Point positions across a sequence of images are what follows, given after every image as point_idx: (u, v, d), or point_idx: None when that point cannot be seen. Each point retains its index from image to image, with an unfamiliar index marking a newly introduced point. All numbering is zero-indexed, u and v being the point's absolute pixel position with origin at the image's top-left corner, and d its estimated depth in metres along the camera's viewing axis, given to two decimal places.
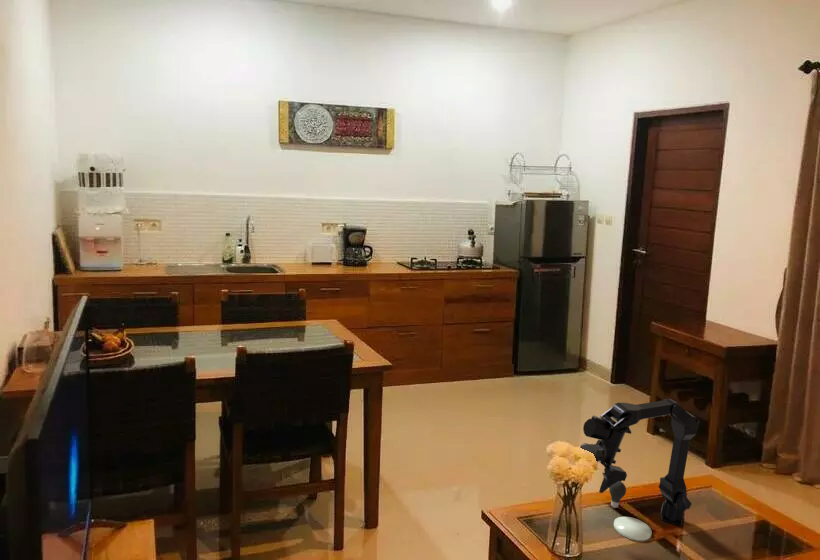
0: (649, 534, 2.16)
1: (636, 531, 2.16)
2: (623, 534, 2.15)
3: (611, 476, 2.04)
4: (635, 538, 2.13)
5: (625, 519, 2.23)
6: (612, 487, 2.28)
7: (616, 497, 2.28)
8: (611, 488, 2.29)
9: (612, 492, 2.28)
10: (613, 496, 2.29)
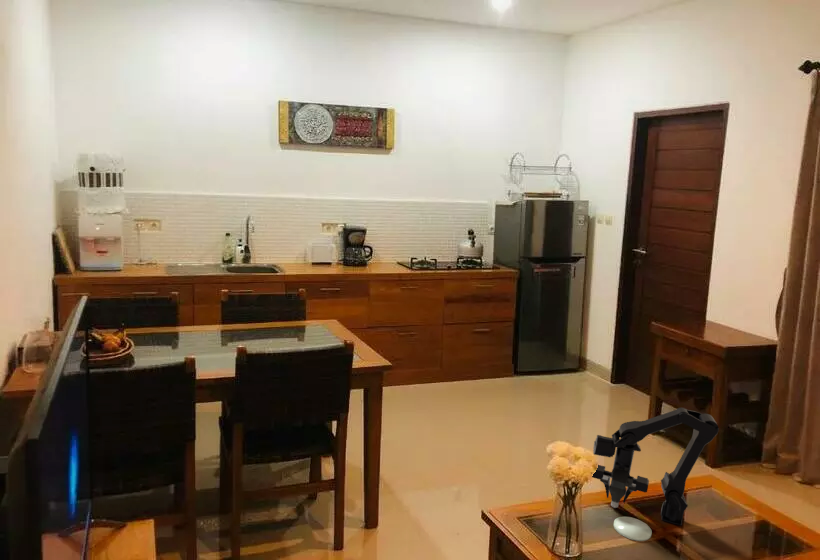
0: (649, 534, 2.16)
1: (636, 531, 2.16)
2: (623, 534, 2.15)
3: (646, 490, 2.23)
4: (635, 538, 2.13)
5: (625, 519, 2.23)
6: (612, 487, 2.28)
7: (616, 497, 2.28)
8: (611, 488, 2.29)
9: (612, 492, 2.28)
10: (613, 496, 2.29)
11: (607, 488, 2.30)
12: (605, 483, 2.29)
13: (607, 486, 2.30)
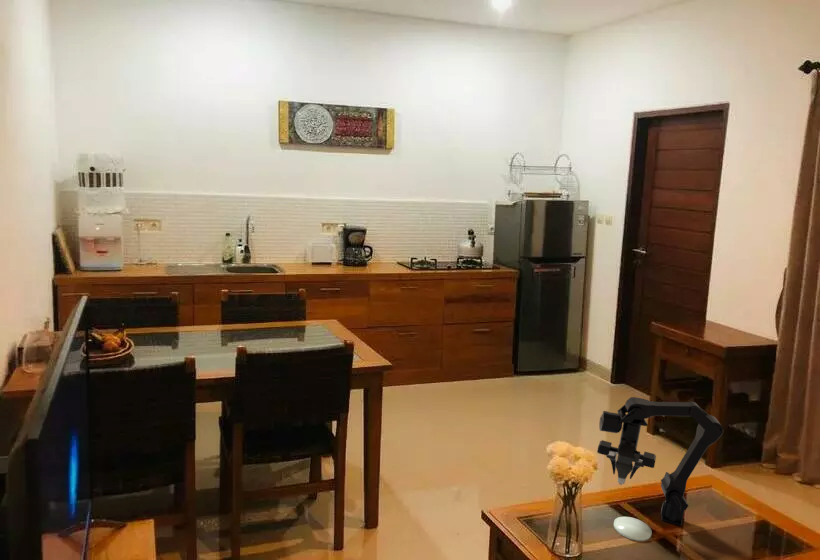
0: (649, 534, 2.16)
1: (636, 531, 2.16)
2: (623, 534, 2.15)
3: (653, 466, 2.20)
4: (635, 538, 2.13)
5: (625, 519, 2.23)
6: (619, 463, 2.25)
7: (623, 473, 2.25)
8: (617, 464, 2.26)
9: (618, 468, 2.25)
10: (619, 472, 2.26)
11: (613, 464, 2.27)
12: (611, 459, 2.26)
13: (613, 462, 2.26)
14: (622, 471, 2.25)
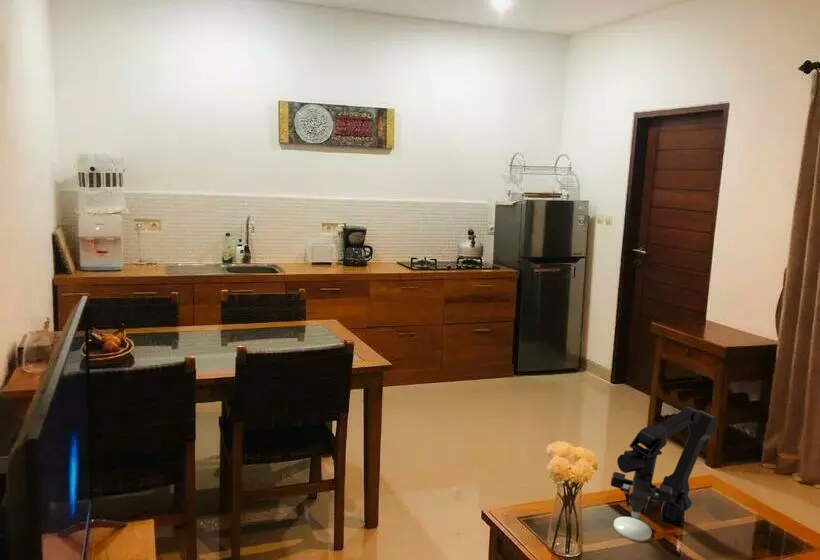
0: (649, 534, 2.16)
1: (636, 531, 2.16)
2: (623, 534, 2.15)
3: (670, 500, 2.10)
4: (635, 538, 2.13)
5: (625, 519, 2.23)
6: (633, 496, 2.15)
7: (637, 507, 2.15)
8: (632, 497, 2.15)
9: (633, 502, 2.15)
10: (634, 506, 2.15)
11: (627, 497, 2.16)
12: (625, 492, 2.15)
13: (627, 495, 2.16)
14: (637, 505, 2.14)
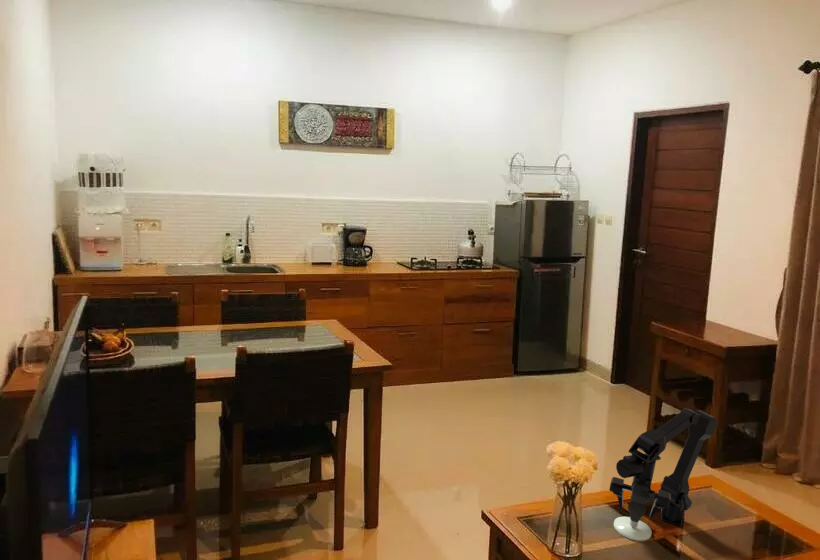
0: (649, 534, 2.16)
1: (636, 531, 2.16)
2: (623, 534, 2.15)
3: (668, 505, 2.10)
4: (635, 538, 2.13)
5: (625, 519, 2.23)
6: (632, 505, 2.16)
7: (635, 516, 2.16)
8: (630, 507, 2.16)
9: (631, 511, 2.16)
10: (632, 515, 2.16)
11: (620, 501, 2.17)
12: (618, 496, 2.16)
13: (620, 499, 2.17)
14: (635, 514, 2.15)
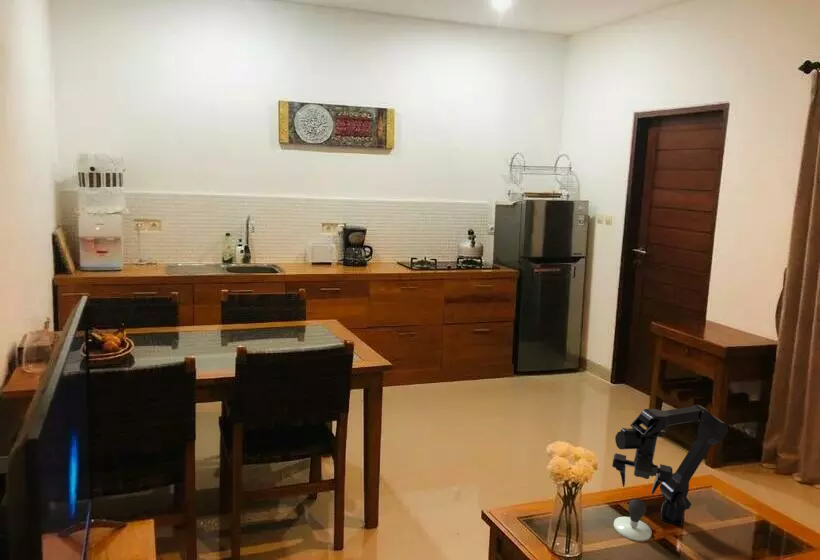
0: (649, 534, 2.16)
1: (636, 531, 2.16)
2: (623, 534, 2.15)
3: (670, 479, 2.14)
4: (635, 538, 2.13)
5: (625, 519, 2.23)
6: (632, 505, 2.16)
7: (635, 516, 2.16)
8: (630, 507, 2.16)
9: (631, 511, 2.16)
10: (632, 515, 2.16)
11: (623, 476, 2.21)
12: (621, 471, 2.20)
13: (623, 474, 2.21)
14: (635, 514, 2.15)
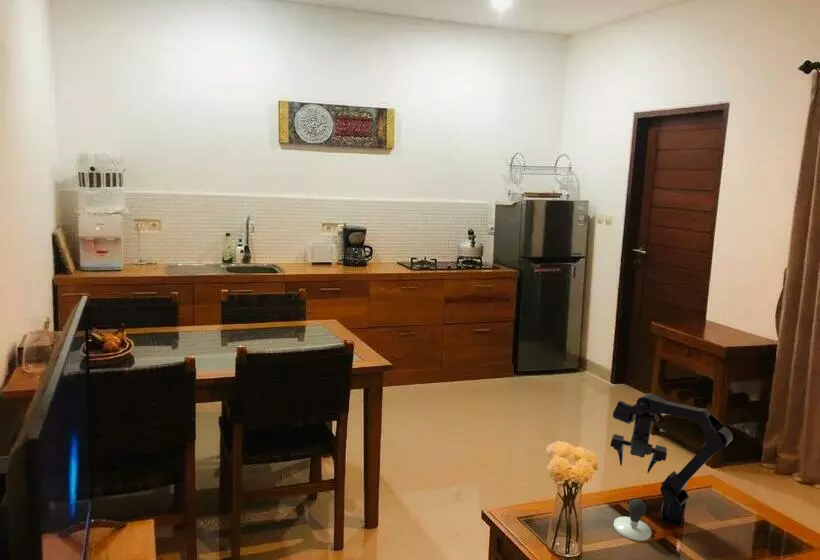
0: (649, 534, 2.16)
1: (636, 531, 2.16)
2: (623, 534, 2.15)
3: (665, 459, 2.28)
4: (635, 538, 2.13)
5: (625, 519, 2.23)
6: (632, 505, 2.16)
7: (635, 516, 2.16)
8: (630, 507, 2.16)
9: (631, 511, 2.16)
10: (632, 515, 2.16)
11: (620, 456, 2.35)
12: (619, 451, 2.34)
13: (620, 454, 2.35)
14: (635, 514, 2.15)
